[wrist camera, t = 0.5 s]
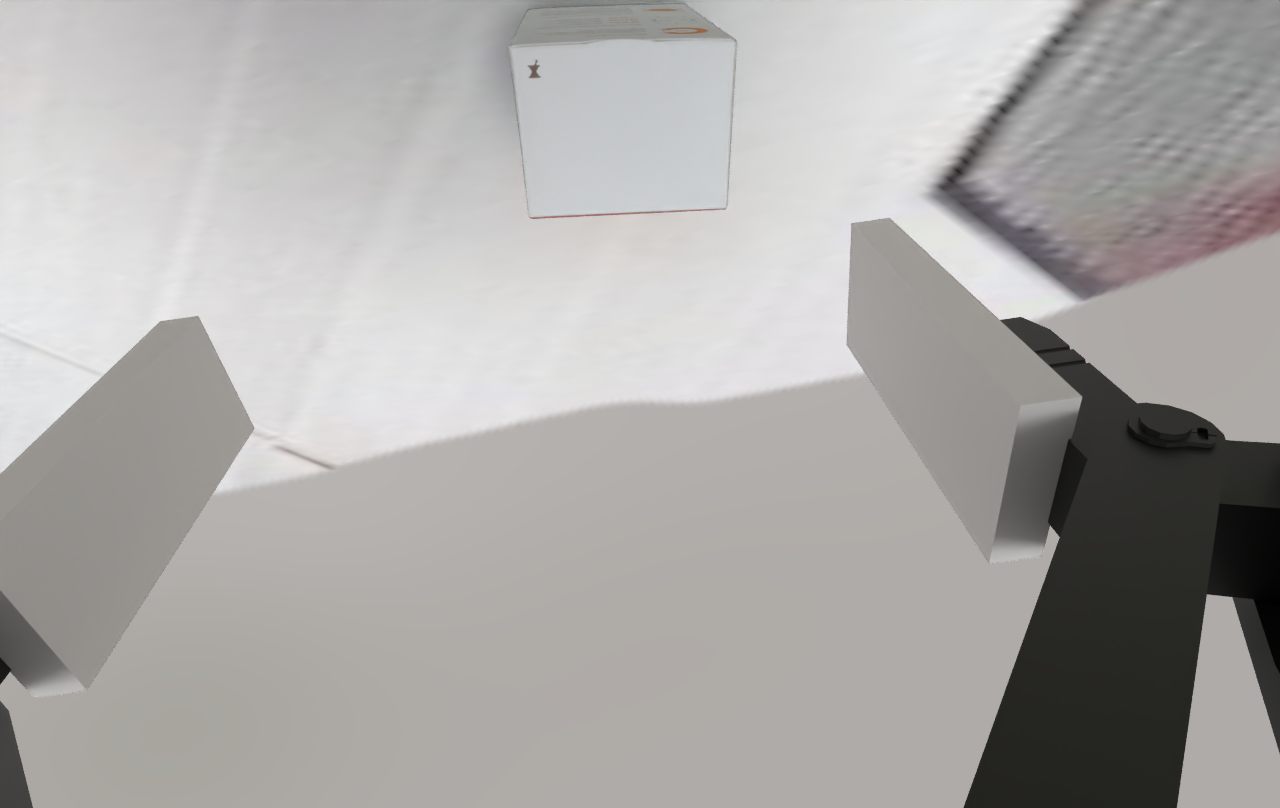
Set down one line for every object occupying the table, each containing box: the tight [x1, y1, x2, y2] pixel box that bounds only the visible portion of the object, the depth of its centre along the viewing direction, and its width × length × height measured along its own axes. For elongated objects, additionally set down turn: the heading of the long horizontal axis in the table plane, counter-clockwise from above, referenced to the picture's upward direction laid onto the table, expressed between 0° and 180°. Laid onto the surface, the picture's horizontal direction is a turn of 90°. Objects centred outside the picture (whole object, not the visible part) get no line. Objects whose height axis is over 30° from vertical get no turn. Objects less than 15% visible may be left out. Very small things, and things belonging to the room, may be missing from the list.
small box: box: [508, 4, 737, 219], centre depth 32 cm, size 8×6×13 cm
